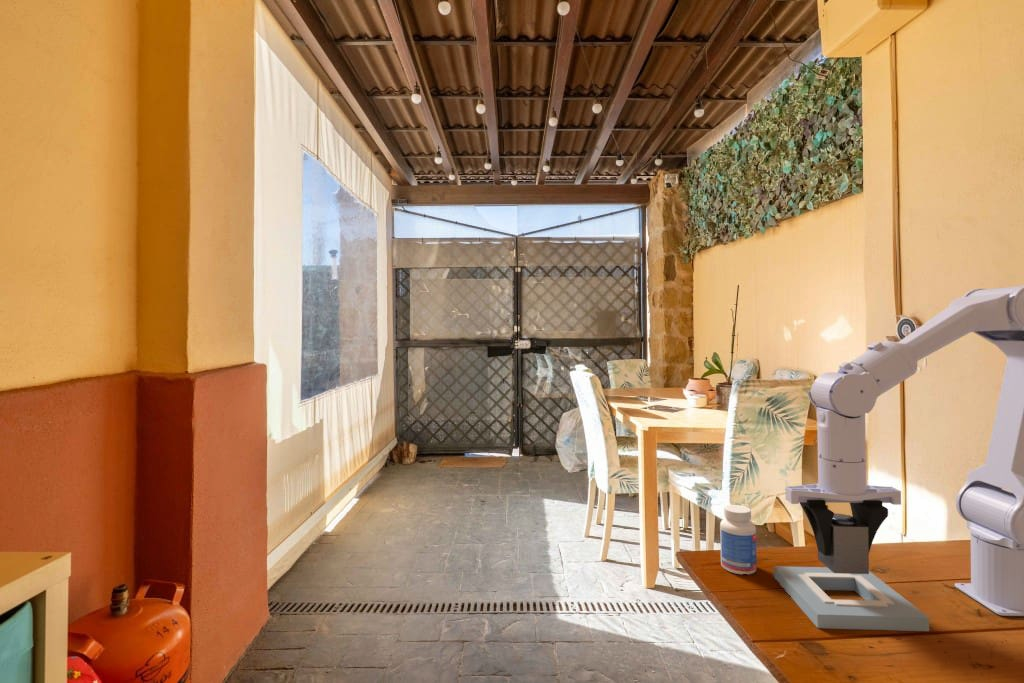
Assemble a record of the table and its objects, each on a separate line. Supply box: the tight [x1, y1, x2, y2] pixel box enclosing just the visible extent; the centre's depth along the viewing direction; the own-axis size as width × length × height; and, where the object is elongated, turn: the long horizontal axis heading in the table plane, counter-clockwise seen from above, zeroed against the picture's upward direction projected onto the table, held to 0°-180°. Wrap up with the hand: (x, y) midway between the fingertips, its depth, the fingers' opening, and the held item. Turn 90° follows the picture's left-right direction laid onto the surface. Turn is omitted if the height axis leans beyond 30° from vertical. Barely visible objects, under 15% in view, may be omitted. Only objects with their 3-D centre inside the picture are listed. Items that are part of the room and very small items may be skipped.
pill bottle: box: [719, 504, 758, 575], centre depth 83 cm, size 6×5×10 cm
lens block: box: [817, 512, 870, 574], centre depth 72 cm, size 4×4×7 cm
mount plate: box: [773, 565, 930, 632], centre depth 72 cm, size 14×14×2 cm
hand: (842, 552), depth 72 cm, fingers closed on lens block, 4 cm apart
